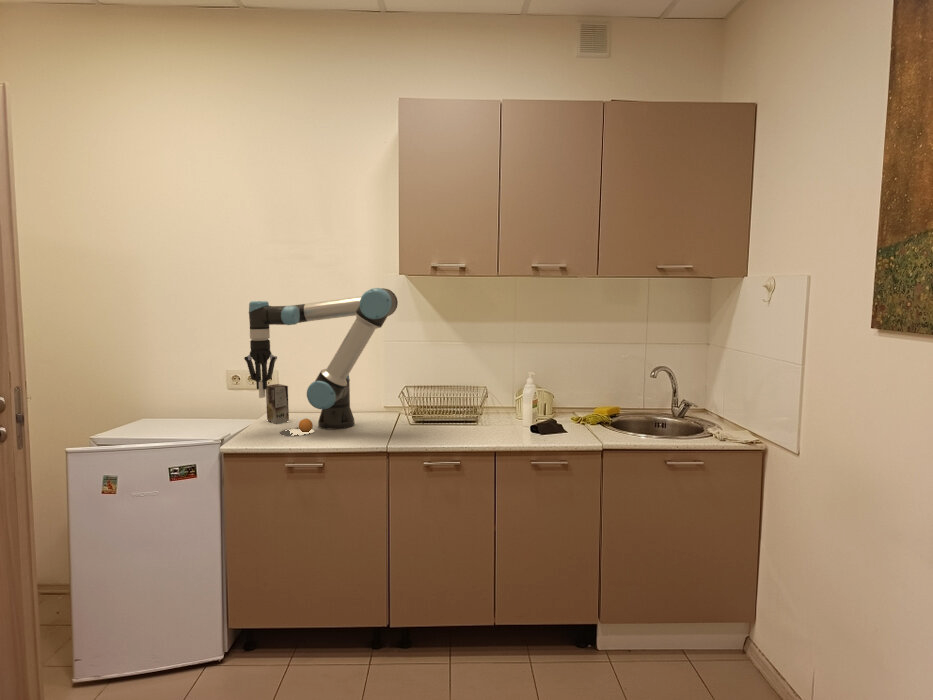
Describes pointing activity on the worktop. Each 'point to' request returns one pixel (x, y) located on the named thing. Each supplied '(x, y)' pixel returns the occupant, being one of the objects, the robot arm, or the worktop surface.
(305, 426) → the ball
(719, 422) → the worktop surface
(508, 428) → the worktop surface
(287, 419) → the coffee box
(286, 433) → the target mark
